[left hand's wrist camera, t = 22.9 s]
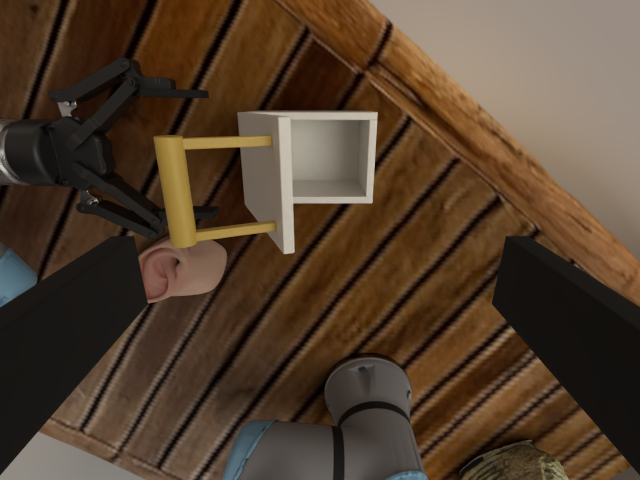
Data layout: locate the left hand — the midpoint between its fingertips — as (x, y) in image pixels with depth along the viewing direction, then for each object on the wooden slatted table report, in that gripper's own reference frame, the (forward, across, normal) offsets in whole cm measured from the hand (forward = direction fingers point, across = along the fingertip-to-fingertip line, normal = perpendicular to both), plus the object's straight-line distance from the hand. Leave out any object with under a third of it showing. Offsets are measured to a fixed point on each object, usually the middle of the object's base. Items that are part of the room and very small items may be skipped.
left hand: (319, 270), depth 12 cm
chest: (+37, +1, 0) cm, 37 cm away
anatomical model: (+37, +21, +17) cm, 46 cm away
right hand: (+30, +13, 0) cm, 33 cm away
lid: (+20, +5, 0) cm, 21 cm away
